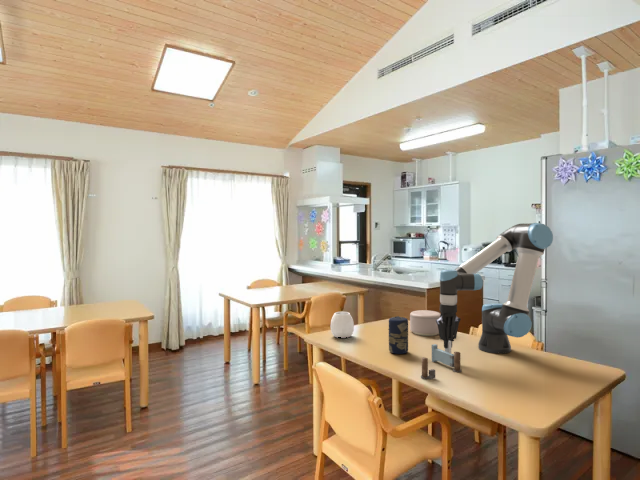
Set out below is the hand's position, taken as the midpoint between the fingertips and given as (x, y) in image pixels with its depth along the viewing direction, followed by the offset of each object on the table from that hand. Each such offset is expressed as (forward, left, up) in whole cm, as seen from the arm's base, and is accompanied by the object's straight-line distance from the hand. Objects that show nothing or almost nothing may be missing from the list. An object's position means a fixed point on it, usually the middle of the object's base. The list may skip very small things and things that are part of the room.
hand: (447, 354), depth 187 cm
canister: (+24, -8, -3) cm, 25 cm away
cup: (+59, -28, -3) cm, 65 cm away
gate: (+2, +6, -3) cm, 7 cm away
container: (+15, -52, -4) cm, 54 cm away
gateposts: (+2, +18, -3) cm, 18 cm away
